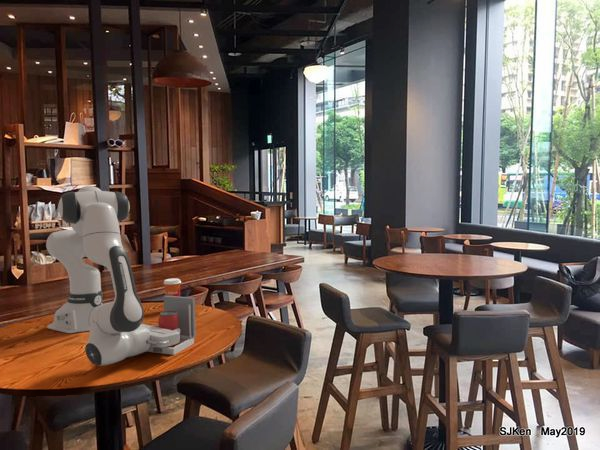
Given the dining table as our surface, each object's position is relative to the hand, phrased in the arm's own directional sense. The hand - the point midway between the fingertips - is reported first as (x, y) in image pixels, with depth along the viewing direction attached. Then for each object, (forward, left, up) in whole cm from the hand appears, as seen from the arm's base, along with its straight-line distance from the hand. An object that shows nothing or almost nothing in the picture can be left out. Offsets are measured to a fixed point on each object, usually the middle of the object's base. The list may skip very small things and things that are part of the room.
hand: (170, 328), depth 161 cm
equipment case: (0, -1, -6) cm, 6 cm away
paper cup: (-28, +42, -6) cm, 51 cm away
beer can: (0, -1, -6) cm, 6 cm away
